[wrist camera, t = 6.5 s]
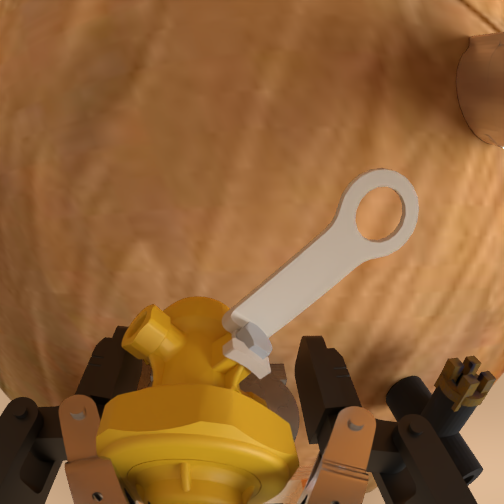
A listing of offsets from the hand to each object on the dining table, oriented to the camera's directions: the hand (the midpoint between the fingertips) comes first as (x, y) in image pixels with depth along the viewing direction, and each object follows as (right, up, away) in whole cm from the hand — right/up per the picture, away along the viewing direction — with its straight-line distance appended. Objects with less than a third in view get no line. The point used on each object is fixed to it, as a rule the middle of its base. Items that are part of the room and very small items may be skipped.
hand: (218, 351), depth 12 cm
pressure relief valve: (+2, +3, +1) cm, 4 cm away
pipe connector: (+20, -10, +20) cm, 30 cm away
